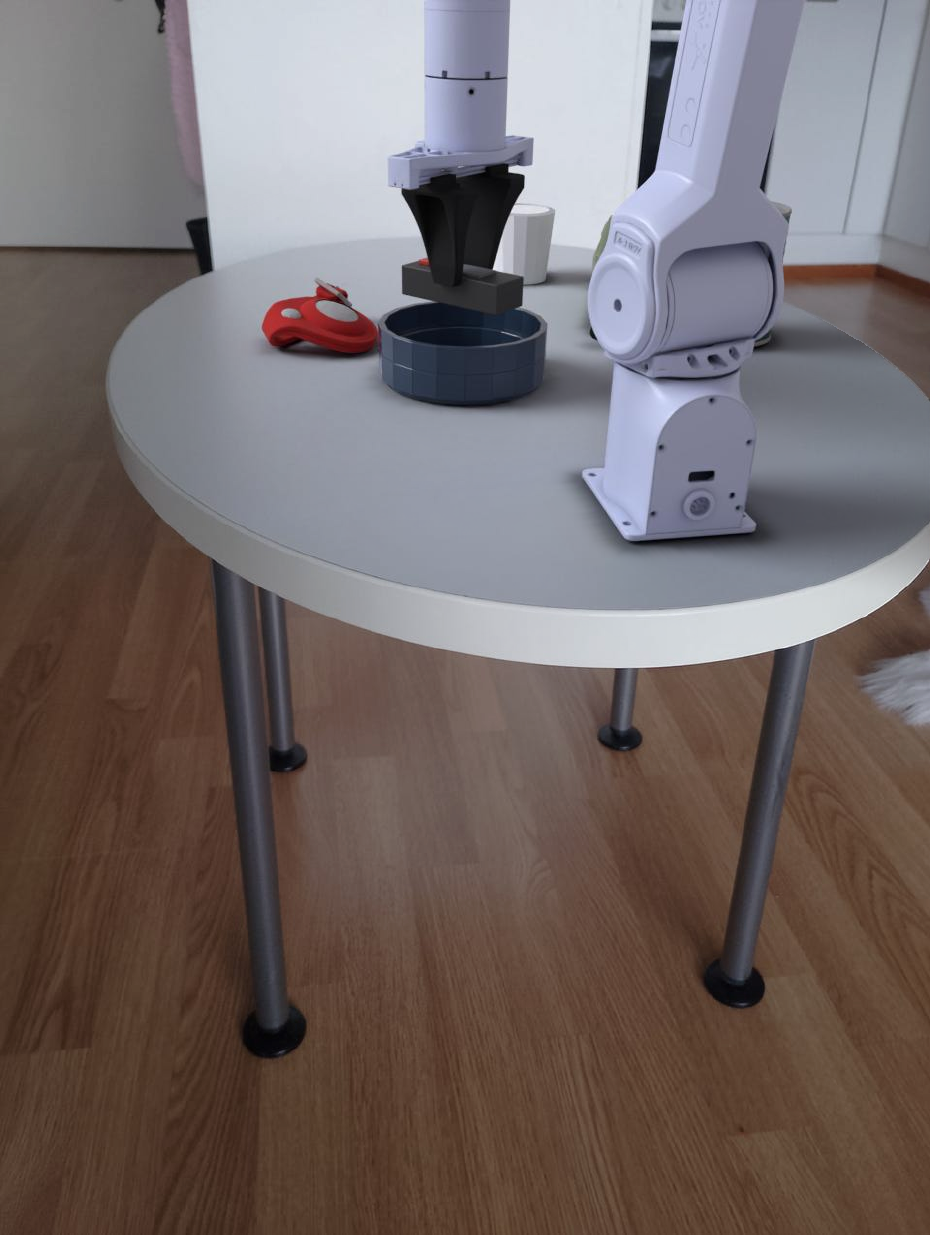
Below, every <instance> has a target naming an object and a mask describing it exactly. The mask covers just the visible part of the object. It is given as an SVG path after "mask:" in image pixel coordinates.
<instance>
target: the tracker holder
mask: <svg viewBox="0 0 930 1235" xmlns="http://www.w3.org/2000/svg"><path fill="white" fill-rule="evenodd" d="M313 281H314V283H316V284H317V286H316V288H315V295H314V296H299V297H291V298H287V299H282V300H278V301H276V302H274V303H273V304H272V305H271V306H270V308H269V309H268V310H267V312H266V313H265V315H264V317H263V321H262V324H261V330H262V333H263V334H264V336H265V338H266V339H267V341H268V343H269V345H270V346H273V347H277V348H279V347H283V346H286V345H288V344H291V343H293V342H295V341H298V340H303V341H306V342H308V343H311V344H314V345H318V346H320V347H323V348H325V349H330V350H334V351H337V352H341V353H348V354H349V353H350V354H359V353H364V352H368V351H370V350H372V349H373V348H374V347H375V346H376V342H377V340H378V327H377V326H376V325H375V324H374V322H373V321H372V320H371V319H370V318H369V317H368V316H366V315H364V314H363V313H361V312H360V311H358V310H357V309H355V308H353V303H352V302H351V301H350V300H349V294H348V292H347V291H346V290H345V289H343V288H341V287H340V286H337V285H333V284H331V283H328V282H325V281H323V280H322V279H321V278H319V277H314V279H313Z"/></svg>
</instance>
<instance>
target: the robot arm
mask: <svg viewBox="0 0 930 1235" xmlns="http://www.w3.org/2000/svg"><path fill="white" fill-rule="evenodd" d="M805 2H806V0H685V6H684V12H683V16H682V21H681V27H680V32H679V38H678V44H677V49H676V55H675V59H674V66H673V71H672V77H671V83H670V88H669V92H668V99H667V103H666V110H665V116H664V119H663V120H664V121H663V125H662V132H661V138H660V142H659V147H658V153H657V159H656V163H655V169H654V171H653V173H652V174H651V175H650V177H649V178H648V179H646V181H645V182H644V183H643V184H642V185H640V187H639V188H637V189H636V190H635V191H634V192H633V193H631V195H630V196H629V197H627V199H626V200H625V201H624V202H623V203H622V204H621V205H620V206H619V207H618V208H617V209H616V210H615V211H613V214H611V215H612V218H611V224H610V230H609V235H608V240H607V243H606V246H605V248H604V251H603V253H602V254H601V256H600V258H599V260H598V261H597V263H596V265H595V268H594V270H593V273H592V272H591V277H590V280H589V283H588V291H587V312H588V318H589V324H590V323H591V324H590V327H591V326H592V329H593V332H594V334H595V336H596V338H597V340H596V341H598V344H599V345H600V346H601V348H602V350H603V351H604V353H603V355H604V357H605V358H608V359H610V360H612V361H613V372H612V381H611V393H610V403H609V404H610V405H609V413H608V424H607V437H606V447H605V456H604V457H605V458H604V467H596V468H593V467H592V468H585V469H583V470H582V474H581V477H582V479H583V480H584V482H585V483H586V485H587V486H588V488H589V489H590V490H591V492H592V493H593V495H594V496H595V498H596V499H597V501H598V503H600V505H601V506H602V508H603V510H604V511H605V512H606V514H607V515H608V518H610V519H611V521H612V523H613V524H614V525H615V527H616V528H617V530H618V531H619V533H620V534H621V536H622V537H623V538H624V539H625V541H630V542H640V541H653V540H669V539H681V538H694V537H707V536H721V535H736V534H747V533H749V534H750V533H754V532H755V531H756V528H757V523H756V522H755V521H754V520H753V519H752V518H751V517H750V516H749V514H747V512H746V510H745V508H746V503H747V496H748V491H749V485H750V480H751V475H752V474H751V473H752V468H753V461H754V456H755V451H756V445H757V436H758V434H757V433H758V432H757V426H756V420H755V418H754V416H753V413H752V412H751V410H750V408H749V407H748V405H747V404H746V403H745V401H744V398H743V396H742V394H741V393H742V392H741V385H740V378H741V370H742V364H743V362H746V361H749V360H751V359H752V358H753V352H754V348H755V346H754V341H756V340H758V339H760V338H761V337H763V336H764V335H765V334H766V333H767V332H768V331H769V330H770V329H771V328H773V327H774V325H775V323H776V322H777V320H778V317H779V315H780V313H781V310H782V307H783V301H784V296H785V276H784V266H783V264H784V257H783V250H784V245H785V241H786V242H787V238H788V234H789V230H790V223H789V224H788V222H787V221H786V219H785V218H784V217H783V215H782V214H781V213H780V211H779V210H778V209H777V208H776V207H775V206H774V205H773V204H772V202H773V201H772V200H770V198H769V197H768V196H767V195H766V194H765V192H764V191H763V190H762V189H761V184H762V179H763V175H764V170H765V166H766V163H767V159H768V154H769V150H770V146H771V142H772V137H773V134H774V130H775V126H776V121H777V117H778V115H779V114H778V113H779V110H780V106H781V102H782V97H783V92H784V88H785V85H786V82H787V77H788V73H789V72H788V71H789V68H790V64H791V61H792V60H791V59H792V56H793V51H794V47H795V44H796V43H795V42H796V39H797V36H798V31H799V27H800V22H801V19H802V14H803V10H804V6H805ZM423 4H424V5H423V8H424V10H423V11H424V14H423V15H424V16H423V17H424V18H423V19H424V20H423V21H424V24H423V25H424V26H423V27H424V28H423V30H424V31H423V32H424V35H423V36H424V38H423V39H424V43H423V44H424V48H423V49H424V52H423V53H424V54H423V55H424V56H423V57H424V68H423V70H424V140H423V139H422V140H416V141H415V142H414V147H412V148H411V149H408V150H406V151H403V152H399V153H396V154H391V155H387V186H388V187H389V188H390V187H391V188H396V189H397V188H398V189H401V190H400V193H401V194H400V195H402V198H403V199H404V201H405V202H406V204H407V206H408V208H409V210H410V212H411V214H412V216H413V218H414V220H415V223H416V225H417V227H418V230H419V234H420V235H421V236H420V237H421V239H422V242H423V245H424V249H425V253H426V258H428V261H429V266H430V270H431V274H432V278H433V282H434V283H437V284H441V285H446V286H451V287H456V286H459V285H460V281H461V278H462V274H463V266H464V264H466V265H471V266H476V267H481V268H486V269H491V270H493V267H494V263H495V260H496V256H497V252H498V248H499V244H500V241H501V238H502V234H503V231H504V228H505V225H506V223H507V220H508V217H509V215H510V213H511V211H512V209H513V207H514V205H515V204H517V201H518V199H519V197H520V196H521V195H522V192H523V191H524V189H525V184H526V176H525V174H522V173H518V172H510V171H509V169H510V168H511V167H517V166H519V167H528V166H529V167H531V166H532V165H533V162H534V160H533V159H534V137H531V136H521V135H516V134H515V135H514V134H511V135H507V111H508V110H507V109H508V83H509V82H508V81H509V78H508V77H509V51H510V50H509V49H510V23H511V22H510V20H511V0H423ZM771 201H772V202H771ZM787 233H788V234H787ZM786 237H787V238H786ZM785 246H786V245H785ZM771 330H772V329H771Z"/></svg>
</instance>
